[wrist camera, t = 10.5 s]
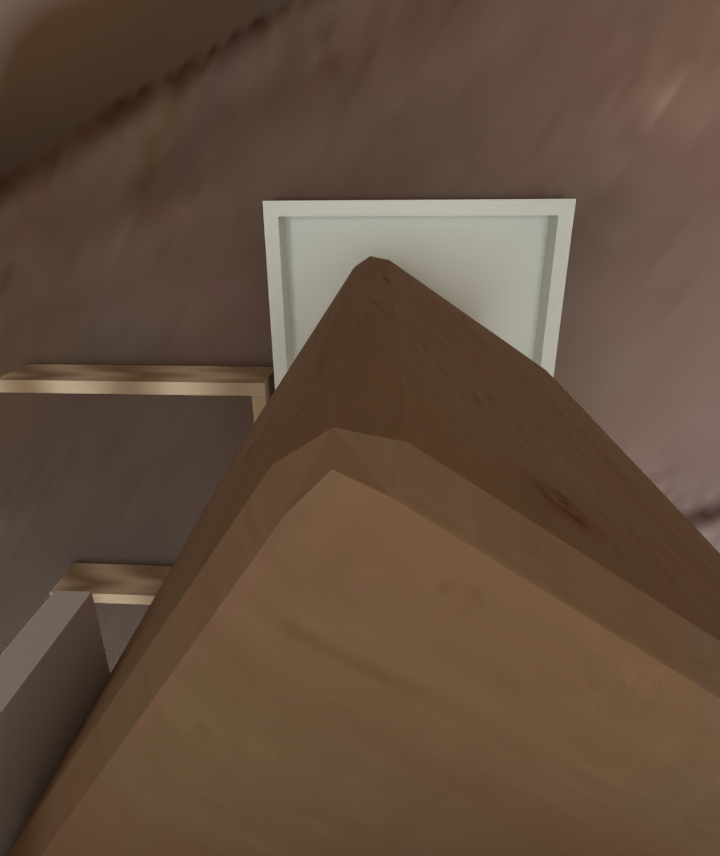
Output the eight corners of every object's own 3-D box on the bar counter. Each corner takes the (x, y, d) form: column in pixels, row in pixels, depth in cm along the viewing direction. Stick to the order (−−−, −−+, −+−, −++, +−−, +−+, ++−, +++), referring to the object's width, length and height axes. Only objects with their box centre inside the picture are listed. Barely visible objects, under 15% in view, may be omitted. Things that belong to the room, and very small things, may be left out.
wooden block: (368, 243, 23) (311, 426, 5) (558, 376, 25) (1065, 894, 6) (248, 430, 26) (-67, 976, 8) (423, 536, 28) (500, 1182, 10)
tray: (287, 459, 39) (280, 475, 37) (271, 200, 33) (262, 200, 31) (531, 464, 38) (540, 481, 36) (563, 198, 32) (576, 198, 30)
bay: (77, 571, 44) (51, 601, 41) (28, 364, 38) (-6, 379, 35) (289, 578, 43) (280, 609, 40) (275, 366, 37) (264, 383, 34)
